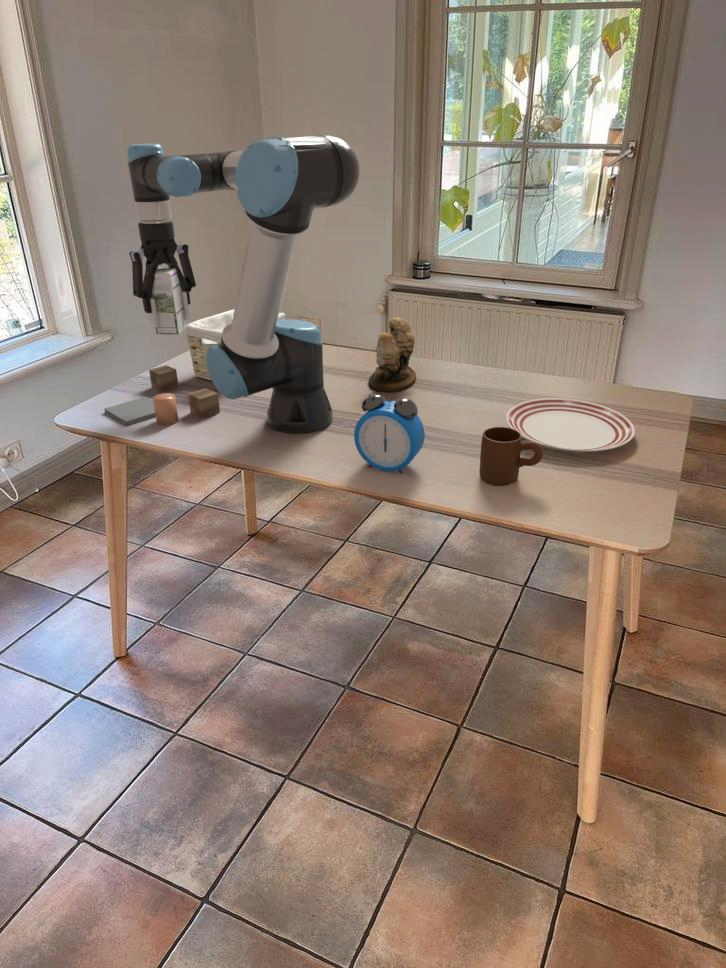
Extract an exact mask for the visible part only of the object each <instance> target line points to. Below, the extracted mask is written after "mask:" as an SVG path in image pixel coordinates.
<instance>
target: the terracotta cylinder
mask: <svg viewBox="0 0 726 968" xmlns="http://www.w3.org/2000/svg"><path fill="white" fill-rule="evenodd" d="M152 400H153V402H154V409H155V415H156V417H155V419H156V424H157V425H158V426H159V425H160V426H165V427H166V426H167V427H168V426H171V425H174V424H177V423H178V422H179V421H180V420H179V414H178V406H177V399H176V394H174V393H169V392H168V393H167V392H162V393H158V394H156V395H154V396H153V397H152Z"/></svg>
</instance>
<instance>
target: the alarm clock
mask: <svg viewBox="0 0 726 968" xmlns="http://www.w3.org/2000/svg"><path fill="white" fill-rule="evenodd" d="M361 409H362V411H363V412H365V413H364V414H363V415H362V416H361V417H360V418H359V419H358V421H357V422H356V424H355V427H354V433H353V438H354V439H353V440H354V444H355V447H356V450H357V452H358V454H359V456H360V457H361V458H362V459H363V460H364V461H365V462H366V463H367V464H368V465H369V466H368V467H369V468H371V467H373V468H374V469H378V470H379V471H384V472H396V471H398V472H399V473H400V474H403V471H402V469H405V468H406V467H407V466H408V465H409V464H411V462H412V461H413V460H414V459H415V457H416V456H417V455H418V454H419V453H420V451H421V449H422V448H423V445H424V442H425V436H426V435H425V427H424V425H423V422H422V420H421V418H420V416H419V415H418V412H419V409H418V406H417V404H416V402H415V401H413V400H412V399H410V398H409V397H408V398H406V397H402V398H398V399H397V400H396V401H395V400H393V399H388V398H387V399H386V398H385V397H384V396H383V395H382V394H379V393H373V394H368V396H366V398H364V400H363V401H362V403H361Z"/></svg>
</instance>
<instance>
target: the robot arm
mask: <svg viewBox="0 0 726 968" xmlns="http://www.w3.org/2000/svg"><path fill="white" fill-rule="evenodd" d="M163 149H164V148H163V147H162V145H161V144H159V143H137V144H136V143H133V144H130V145H128V146H127V148H126V153H127V161H128V162H127V167H128V170H129V176H130V183H131V187H132V193H133V199H134V201H133V202H134V206H135V214H136V219H137V220H138V221H139V222H138V224H137V225H138V233H139V239H140V243H141V246H140V249H138V250H136V251H131V250H130V251H129V257H130V260H131V266H132V268H131V269H132V271H131V272H132V295H133V296H134V297H136V298H139V299H142V305H143V311H144V312H145V314H146V313H147V316H148V317H147V318H148V321H149V326H151V327H153V328H155V327H159V326H158V319H157V313H156V306H155V300H154V299H153V298H151V294H152V289H153V284H154V279H155V274H156V270H157V269H158V268H159V266H161V265H164V264H165V265H167V268H176V271H177V275H178V278H179V281H180V288H181V296H182V303H183V311H184V317H185V321H189V320H191V318H190V310H189V306H190V305H191V295H190V292H191V291H192V288H195V287H196V285H197V283H196V279H195V275H194V271H193V268H192V264H191V261H190V257H189V245H188V244H185V243H182V242H181V243H177V242H176V240H175V228H174V222H173V220H171V219H172V218H173V213H172V206H171V201H170V199H171V198H170V197H176V198H181V197H182V198H183V197H185V198H186V197H191V196H192V195H194V194H199V193H208V192H215V191H216V192H218V191H236V196H237V198H238V201H239V203H240V205H241V206H242V208H243V209H244V214H245V217H246V218H247V219H248V220H249V222H250V224H249V229H248V231H249V232H248V236H247V242H246V246H245V252H244V257H243V258H244V259H243V263H242V268H241V273H240V277H239V278H240V279H239V284H238V289H237V293H236V300H235V304H234V305H235V306H234V309H235V310H234V315H233V320H232V323H230V324H228V325H227V326H226V327H225V328H224V329H223V332H222V338H221V343H220V344H219V345H214V346H212V347H210V348H209V349H208V350H207V353H206V365H207V369H208V372H209V375H210V377H211V380H210V381H212V384H213V385H214V387H215V388H216V389H217V391H218V392H219V393H220V394H221V395H222V396H224V397H225V398H227V399H229V400H236V399H240V398H247V397H249V396H252V395H255V394H259V393H261V392H264V391H266V390H270V389H272V392H271V397H270V401H269V406H268V409H267V411H266V415H267V417H266V418H267V424H268V426H269V427H271V428H272V429H274V430H276V431H279V432H282V433H289V434H307V433H311V432H312V433H313V432H316V431H320V430H323V429H325V428H327V427H329V426H330V425H331V423H332V422H333V418H334V414H333V408H332V406H331V403H330V400H329V397H328V394H327V392H326V389H325V384H324V383H325V382H324V359H323V354H324V353H323V345H324V343H323V340H322V332H321V328H320V326H318V325H317V324H316V323H313V322H309V321H306V320H300V319H299V320H298V319H289V318H288V319H286V318H285V319H283V320H277V319H278V315H279V312H280V310H281V307H282V303H283V302H282V301H283V299H284V294H285V290H286V285H287V281H288V278H289V273H290V269H291V266H292V265H291V264H292V262H293V256H294V253H295V248H296V245H297V240H298V236H300V235H301V234H304V233H305V232H307V231H308V229H309V227H310V224H311V223H310V222H311V220H312V216H313V211H314V210H316V209H322V208H328V207H333V206H337V205H339V204H341V203H343V202H344V201H346V200H347V199H349V198H350V196H352V194H353V193H354V192H355V190H356V188H357V186H358V183H359V178H360V163H359V160H358V157H357V155H356V153H355V151H354V149H353V148H352V146H350V145H349V144H348V143H347V142H346V141H345V140H343V139H341V138H339V137H337V136H333V135H328V134H325V135H324V134H321V135H319V134H318V135H309V136H296V137H295V136H294V137H280V136H276V137H275V136H274V137H273V136H272V137H268V138H266V139H261V140H255V141H253V142H252V143H250V144H248V146H246V147H245V149H244V150H226V151H220V152H219V151H218V152H209V153H192V154H179V155H165V153H164V150H163ZM175 253H177V255H178V259H179V263H180V267H181V269H180V267H179V265H178V264H179V263H178V260H177V259H176V257H175ZM144 257H145V258H146V260H145V264H144V265H145V271H143V268H144V267H143V259H144ZM143 272H144V274H143ZM143 275H144V276H143Z"/></svg>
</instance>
